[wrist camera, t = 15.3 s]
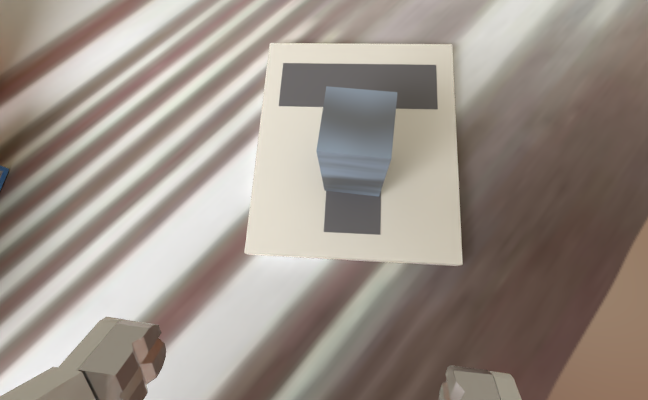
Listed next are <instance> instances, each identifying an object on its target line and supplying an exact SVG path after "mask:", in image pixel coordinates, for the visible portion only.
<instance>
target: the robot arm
mask: <svg viewBox="0 0 648 400" xmlns="http://www.w3.org/2000/svg"><path fill="white" fill-rule="evenodd" d="M160 334H161V331H160V328H159V325H155V324H148V323H142V322H136V321H130V320H124V319H118V318H111V317H105V318H104V319H102V320H100V321H99V322H98V323H97V324H96V326H95V327H94V328H93V329H92V330H91V331H90V332H89V333H88V335H87V336H86V337H85V338H84V339H83V340H82V341H81V342H80V344H79V345H78V346H77V347H76V348H75V349H74V350H73V352H72V353H71V354H70V355H69V356H68V357H67V358H66V359H65V361H64V362H63V363H62V364H61V365H60V366H59V367H52V368H50V369H49V370H47V371H45V372H43V373H41V374H40V375H38V376H36V377H34V378H32V379H31V380H29V381H27V382H25V383H24V384H22V385H20V386H18V387H16V388H15V389H13V390H11V391H9V392H7V393H6V394H4V395H2V396H0V400H143V399H144V398H145V396H146V394H147V393H148V392H147V384H148V383H149V382H151V381H152V380H154V379H155V378H156V377H157V376H158V374H159V372H160V370H161V369H162V366H163V363H164V360H165V357H166V348H165V344H164V343H163V342H162V341H161V340H160V339H159V338H158V337H159V336H160ZM446 379H447V381H446V382H444V383H443V384H442V386H441V389H440V394H439V400H522V399H521V396H520V394H519V391H518V389H517V386H516V383H515V381H514V378H513V377H512V376H511V375H510V374H508V373H501V372H492V371H488V370H482V369H474V368H466V367H458V366H449V367H448V368H447V371H446Z"/></svg>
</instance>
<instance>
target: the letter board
mask: <svg viewBox="0 0 648 400" xmlns="http://www.w3.org/2000/svg"><path fill="white" fill-rule="evenodd" d="M326 86H328V87H340V88H352V89H364V90H376V91H388V92H397V103H396V114H395V125H394V136H393V146H392V157H391V161H390V164H389V168H388V171H387V174H386V177H385V180H384V183H383V186H382V189H381V192H380V195H379V197H378V196H369V195H360V194H351V193H342V192H334V191H325V190H324V186H323V181H322V176H321V171H320V166H319V161H318V157H317V152H316V150H317V144H318V137H319V131H320V124H321V118H322V112H323V105H324V99H325V92H326ZM244 253H246V254H248V255H263V256H282V257H300V258H318V259H337V260H355V261H374V262H392V263H411V264H429V265H447V266H460V265H463V262H462V241H461V220H460V199H459V178H458V157H457V135H456V114H455V93H454V72H453V51H452V44H336V43H270V47H269V55H268V63H267V71H266V80H265V88H264V96H263V104H262V112H261V121H260V129H259V137H258V145H257V154H256V162H255V170H254V178H253V186H252V195H251V203H250V211H249V219H248V228H247V236H246V244H245V252H244Z"/></svg>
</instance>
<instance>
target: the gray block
mask: <svg viewBox="0 0 648 400" xmlns="http://www.w3.org/2000/svg"><path fill="white" fill-rule="evenodd" d="M396 103H397V92H388V91H376V90H364V89H352V88H340V87H328V86H326V92H325V99H324V105H323V112H322V118H321V124H320V131H319V137H318V144H317V150H316V152H317V157H318V161H319V166H320V171H321V176H322V181H323V186H324V190H325V191H334V192H342V193H351V194H360V195H369V196H378V197H379V195H380V192H381V189H382V186H383V183H384V180H385V177H386V174H387V171H388V168H389V164H390V161H391V157H392V146H393V136H394V125H395V114H396Z"/></svg>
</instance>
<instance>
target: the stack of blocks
mask: <svg viewBox="0 0 648 400" xmlns="http://www.w3.org/2000/svg"><path fill="white" fill-rule="evenodd" d="M8 171H9V169H8V168H6V167H4V166H1V165H0V190H1V188H2V186H3V183H4V181H5V178H6V176H7V174H8Z"/></svg>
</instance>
